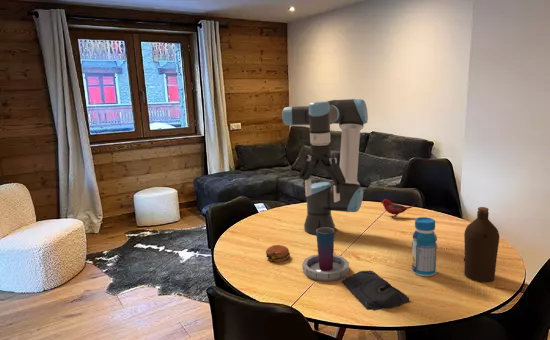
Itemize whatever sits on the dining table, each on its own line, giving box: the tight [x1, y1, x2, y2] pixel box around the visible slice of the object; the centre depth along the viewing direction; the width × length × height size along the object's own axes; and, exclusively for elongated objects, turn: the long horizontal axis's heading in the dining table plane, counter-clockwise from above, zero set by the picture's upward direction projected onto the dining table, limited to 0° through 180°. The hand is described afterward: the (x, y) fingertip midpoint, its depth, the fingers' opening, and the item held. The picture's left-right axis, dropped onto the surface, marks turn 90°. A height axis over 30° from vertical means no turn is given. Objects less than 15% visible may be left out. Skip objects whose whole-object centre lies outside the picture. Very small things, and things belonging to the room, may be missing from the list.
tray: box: [301, 253, 350, 282], centre depth 142 cm, size 17×17×3 cm
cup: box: [315, 227, 335, 271], centre depth 141 cm, size 7×7×15 cm
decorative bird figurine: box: [380, 198, 416, 218], centre depth 199 cm, size 3×18×10 cm, turn 82°
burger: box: [265, 244, 290, 263], centre depth 156 cm, size 10×9×5 cm
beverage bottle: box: [411, 216, 438, 277], centre depth 136 cm, size 8×8×20 cm
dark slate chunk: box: [341, 270, 410, 312], centre depth 126 cm, size 15×22×5 cm
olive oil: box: [463, 206, 500, 283], centre depth 131 cm, size 11×11×25 cm
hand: (322, 198), depth 145 cm, fingers open, 13 cm apart
